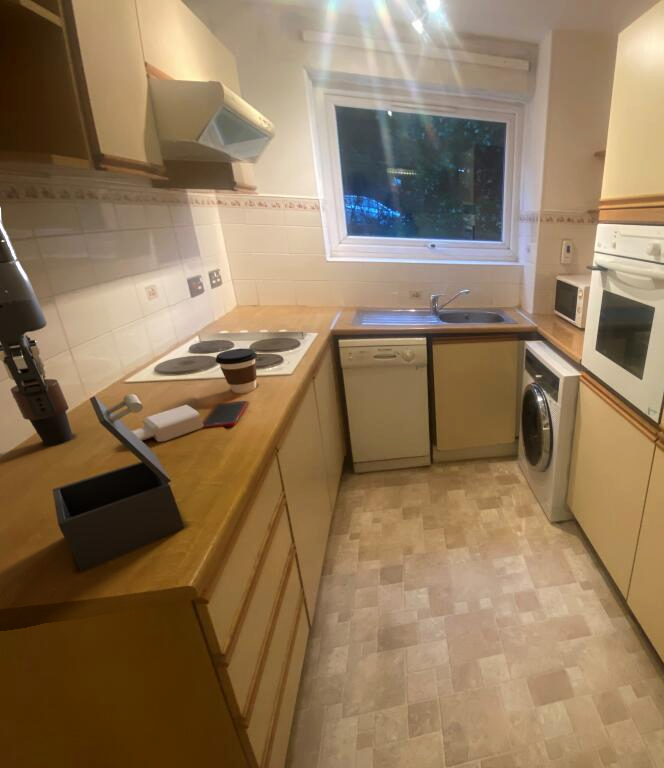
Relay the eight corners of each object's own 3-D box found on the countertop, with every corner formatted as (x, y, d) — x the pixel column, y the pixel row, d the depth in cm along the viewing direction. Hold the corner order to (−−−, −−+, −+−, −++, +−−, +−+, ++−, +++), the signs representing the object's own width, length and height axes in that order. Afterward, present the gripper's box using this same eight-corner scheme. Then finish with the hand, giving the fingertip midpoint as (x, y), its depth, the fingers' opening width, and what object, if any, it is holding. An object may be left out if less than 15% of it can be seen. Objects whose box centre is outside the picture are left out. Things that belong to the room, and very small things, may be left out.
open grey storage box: (82, 574, 68) (58, 524, 64) (74, 535, 76) (52, 489, 72) (185, 530, 77) (169, 484, 73) (168, 500, 85) (153, 457, 81)
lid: (99, 422, 65) (137, 402, 67) (89, 398, 72) (123, 380, 75) (166, 484, 73) (197, 463, 76) (150, 456, 81) (179, 439, 84)
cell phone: (248, 403, 126) (247, 400, 126) (234, 426, 113) (234, 423, 113) (217, 406, 124) (216, 403, 123) (200, 430, 111) (199, 427, 111)
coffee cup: (230, 384, 139) (221, 349, 135) (267, 381, 142) (260, 346, 138) (219, 398, 130) (208, 360, 125) (259, 394, 133) (251, 357, 128)
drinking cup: (44, 439, 106) (9, 362, 99) (85, 432, 110) (54, 357, 102) (31, 454, 100) (-7, 373, 92) (75, 445, 103) (41, 367, 96)
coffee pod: (24, 423, 62) (10, 394, 60) (23, 412, 65) (10, 385, 63) (70, 412, 65) (58, 384, 63) (67, 403, 68) (56, 376, 66)
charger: (120, 443, 105) (190, 419, 116) (133, 455, 100) (205, 428, 111) (113, 426, 103) (185, 403, 114) (125, 437, 98) (199, 412, 109)
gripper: (-46, 293, 60) (8, 404, 66) (-54, 309, 51) (8, 436, 57) (32, 287, 65) (74, 390, 72) (37, 300, 56) (85, 418, 63)
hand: (45, 410), depth 64 cm, fingers closed on coffee pod, 4 cm apart
